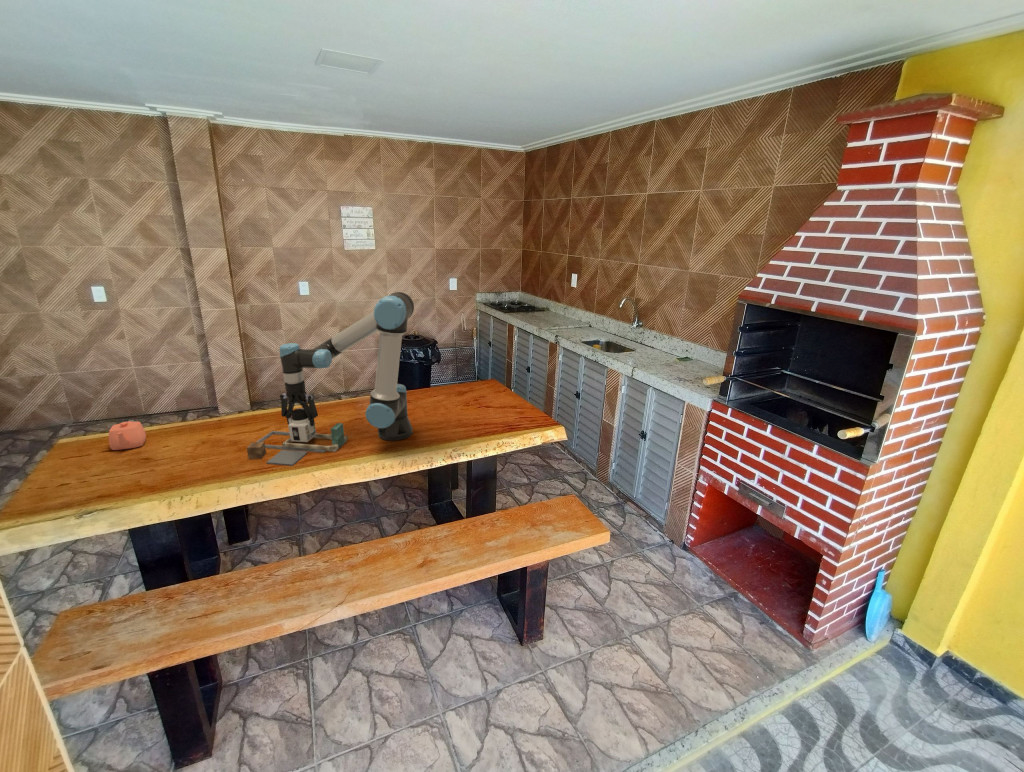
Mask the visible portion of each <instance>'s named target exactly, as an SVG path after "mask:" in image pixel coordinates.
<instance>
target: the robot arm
mask: <svg viewBox="0 0 1024 772" xmlns="http://www.w3.org/2000/svg"><path fill="white" fill-rule="evenodd" d="M414 311H415V303H414V300H413V299H412V297H411V296H410V295H409V294H407V293H405V292H403V291H402V292H401V291H395V292H393V293H391V294H388V295H386V296H384V297H382V298H380V299H379V300H378V301H377V303H376V304H375V306H374V309H373V311H372V312H370V313H369V314H367V315H366V316H364V317H363V318H361V319H359V320H358V321H356V322H354V323H353V324H351V325H350V326H348V327H347V328H345V329H343V330H342V331H340V332H338V333H337V334H335V335H334V336H332V337H331V338H329V339H327V340H325V341H324V342H322V343H320V344H319V345H317V346H315V347H314V348H310V349H309V348H307V349H304V348H300V345H299V343H295V342H292V343H291V342H290V343H284V344H281V345H280V346H279V347H278V348H279V358H280V363H281V369H282V375H283V382H284V386H285V389H284V390H285V392H283V393H281V394H279V398H280V401H281V402H280V403H281V405H280V406H281V407H280V408H281V409H280V410H281V417H284V418H285V419H286V422H287V426H288V425H289V424H290V423H291V422H293V421H292V415H291V412H292V411H293V410H294V408H295V404H296V403H297V404H299V405H300V406H301V408H303V409H304V411H305V413H306V415H307V416H308V418H309V419H307V423H308V428H309V434H311V433H313V432H314V427H313V425H315V426H316V424H315V423H316V422H315V423H314V421H315V418H317V417H318V416H319V413H318V409H317V406H316V404H315V403H316V402H315V401H314V400H315V399H314V398H315V397H314V394H313V393H311V394H309V393H307V392H306V384H305V383H306V382H305V380H304V379H305V377H304V375H305V374H304V371H303V370H304V369H327V368H330V366H331V364H332V362H333V361H332V360H333V359H334V358H336V357H337V356H339V355H340V354H342V353H343V352H345V351H347V350H349V349H351V348H352V347H354V346H355V345H356V344H359V343H360V342H362V341H363V340H365V339H367V338H368V337H370V336H372V335H373V334H375V333H377V332H378V333H379V337H378V338H379V339H378V348H377V349H378V350H377V358H376V359H377V361H376V370H375V371H376V372H375V383H374V389H373V390H371V391H370V397H369V405H368V406H367V407H366V409H365V418H366V421H367V422H368V423H369V424H370V425H371V426H372V427H375V428H377V436H378V438H380V439H382V440H384V441H391V442H392V441H393V442H394V441H401V440H404V439H405V440H406V439H407V438H409V437H411V436H412V435H413V433H414V431H413V426H412V424H411V420H410V419H409V415H408V397H407V395H408V392H407V388H406V387H407V386H406V385H404V384H401V383H398V378H399V370H400V369H399V368H400V359H401V358H400V357H401V352H402V349H401V348H402V341H403V336H404V335H405V334H406V333H407V332H408V323H409V321H408V320H409V319H410V318H411V317H412V316H413V313H414Z"/></svg>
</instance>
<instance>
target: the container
mask: <svg viewBox="0 0 1024 772" xmlns="http://www.w3.org/2000/svg"><path fill="white" fill-rule="evenodd" d="M291 415H292V416H291V417H292V421H293V422H291V423H290V424H289V425H288V424H287V427H288V432H289V434H290V435H289V438H290V439H291V441H293V442H294V443H295V442H298V443H308V442H309V441H311V440H312V439H314V438H313V437H314V436H316V433H317V429H316V428H317V427H316V424H315V425H313V427H314V432H313V433H311V434H309V428H308V423H307V419H309V418H308V416H307V415H306V413H305V411H304V409H303V407H298V408H295V409H293V411H292V412H291ZM314 423H316V422H315V420H314Z"/></svg>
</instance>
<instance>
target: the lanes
mask: <svg viewBox="0 0 1024 772" xmlns="http://www.w3.org/2000/svg"><path fill="white" fill-rule="evenodd" d="M273 435H277V436H278V435H282V436H290V434H289V431H282V430H281V431H279V430H271V431H269V432H268V433H267V434H265V435H264V436H263V437H261V438H259V439H258V440H256V441H255V442H265V441H266V440H267V439H268V438H270V437H271V436H273ZM265 449H273V450H274V449H275V450H291V451H303V452H309V453H310V452H311V453H320V454H321V453H323V454H325V453H326V451H325V449H315V448H303V447H290V446H282V445H278V444H277V445H276V444H265Z"/></svg>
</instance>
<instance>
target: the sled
mask: <svg viewBox="0 0 1024 772" xmlns="http://www.w3.org/2000/svg"><path fill="white" fill-rule="evenodd" d="M330 433H331V434H330ZM330 433H329V434H328V433H326V434H325V433H317V432H316V436H314V437H313V438H312V439H323V440H331V445H321V444H320V445H319V444H309V443H295V442H294V441H291V439H290V437H288V438H287V439H286V440H285V441H283V442H282V445H281V446H290V447H303V448H315V449H325V452H331V453H332V452H333V453H336V452H337V451H338V450H339V449H340V448H341V447H342V446H343V445H344V444H346V442H347V441H348V439H349V438H348V435H345V430H344V423H341V422H337V423H335V424H334V425H333V426H332V427H331V428H330ZM293 442H294V443H293Z"/></svg>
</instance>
